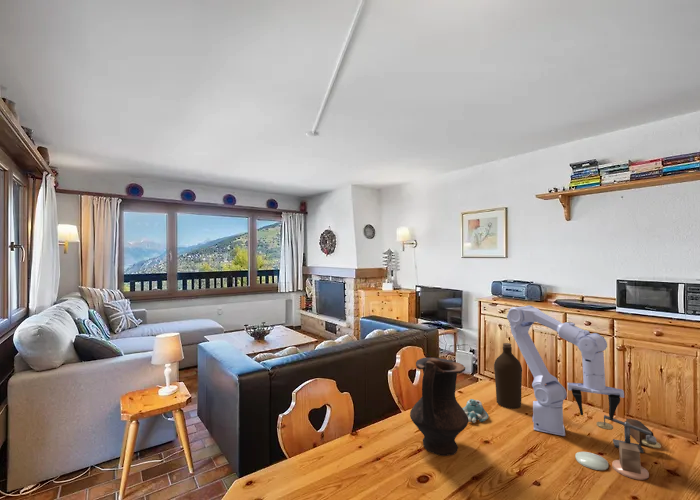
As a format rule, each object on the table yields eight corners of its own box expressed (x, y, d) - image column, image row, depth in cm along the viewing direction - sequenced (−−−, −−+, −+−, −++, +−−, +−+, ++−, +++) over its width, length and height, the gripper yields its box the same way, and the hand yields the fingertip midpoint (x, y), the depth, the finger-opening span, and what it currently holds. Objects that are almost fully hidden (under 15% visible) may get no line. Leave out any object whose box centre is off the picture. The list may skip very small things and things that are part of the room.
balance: (598, 444, 111) (597, 416, 111) (596, 437, 115) (595, 411, 115) (663, 457, 103) (661, 428, 103) (658, 450, 107) (657, 421, 107)
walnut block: (622, 469, 96) (621, 448, 96) (619, 462, 100) (618, 441, 100) (640, 474, 94) (640, 452, 94) (637, 466, 98) (636, 445, 98)
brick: (654, 447, 109) (654, 432, 109) (639, 445, 110) (639, 430, 110) (638, 431, 119) (637, 418, 119) (624, 430, 120) (624, 416, 120)
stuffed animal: (455, 408, 127) (461, 390, 138) (456, 425, 128) (462, 407, 139) (486, 413, 122) (489, 395, 133) (487, 432, 123) (490, 412, 134)
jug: (420, 427, 124) (419, 344, 125) (474, 440, 114) (471, 350, 115) (399, 456, 105) (397, 359, 106) (460, 475, 96) (457, 367, 97)
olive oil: (509, 411, 135) (507, 348, 136) (489, 401, 145) (487, 342, 146) (529, 406, 139) (527, 345, 140) (508, 397, 149) (506, 339, 150)
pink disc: (615, 474, 95) (615, 471, 95) (610, 459, 102) (610, 457, 102) (652, 483, 91) (652, 480, 91) (644, 467, 98) (644, 464, 98)
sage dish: (576, 465, 100) (576, 462, 100) (574, 451, 107) (574, 449, 107) (610, 473, 96) (610, 470, 96) (606, 458, 103) (606, 456, 103)
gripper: (567, 373, 109) (569, 416, 108) (625, 379, 102) (627, 426, 101) (566, 367, 115) (568, 408, 114) (620, 373, 108) (623, 417, 107)
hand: (596, 416), depth 108 cm, fingers open, 7 cm apart
